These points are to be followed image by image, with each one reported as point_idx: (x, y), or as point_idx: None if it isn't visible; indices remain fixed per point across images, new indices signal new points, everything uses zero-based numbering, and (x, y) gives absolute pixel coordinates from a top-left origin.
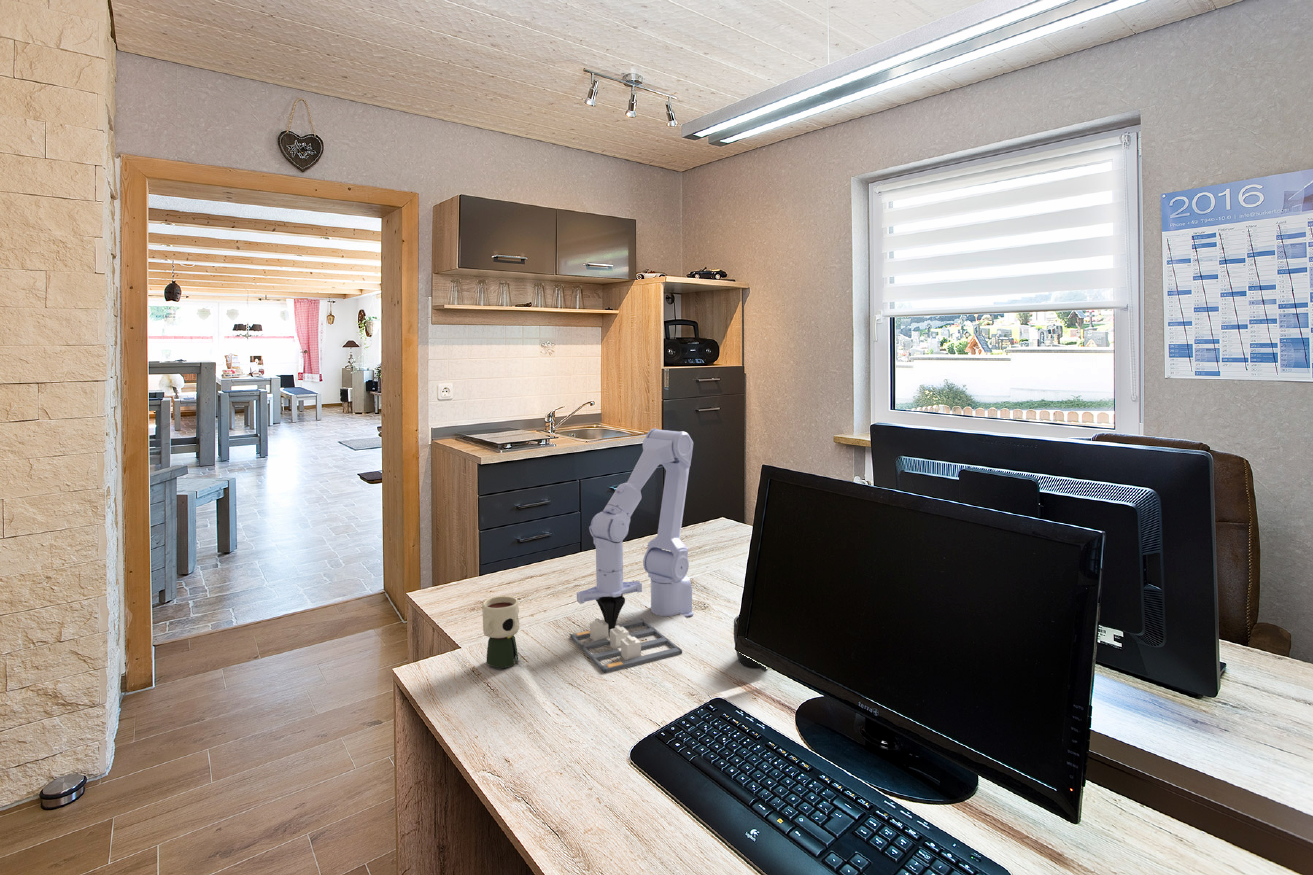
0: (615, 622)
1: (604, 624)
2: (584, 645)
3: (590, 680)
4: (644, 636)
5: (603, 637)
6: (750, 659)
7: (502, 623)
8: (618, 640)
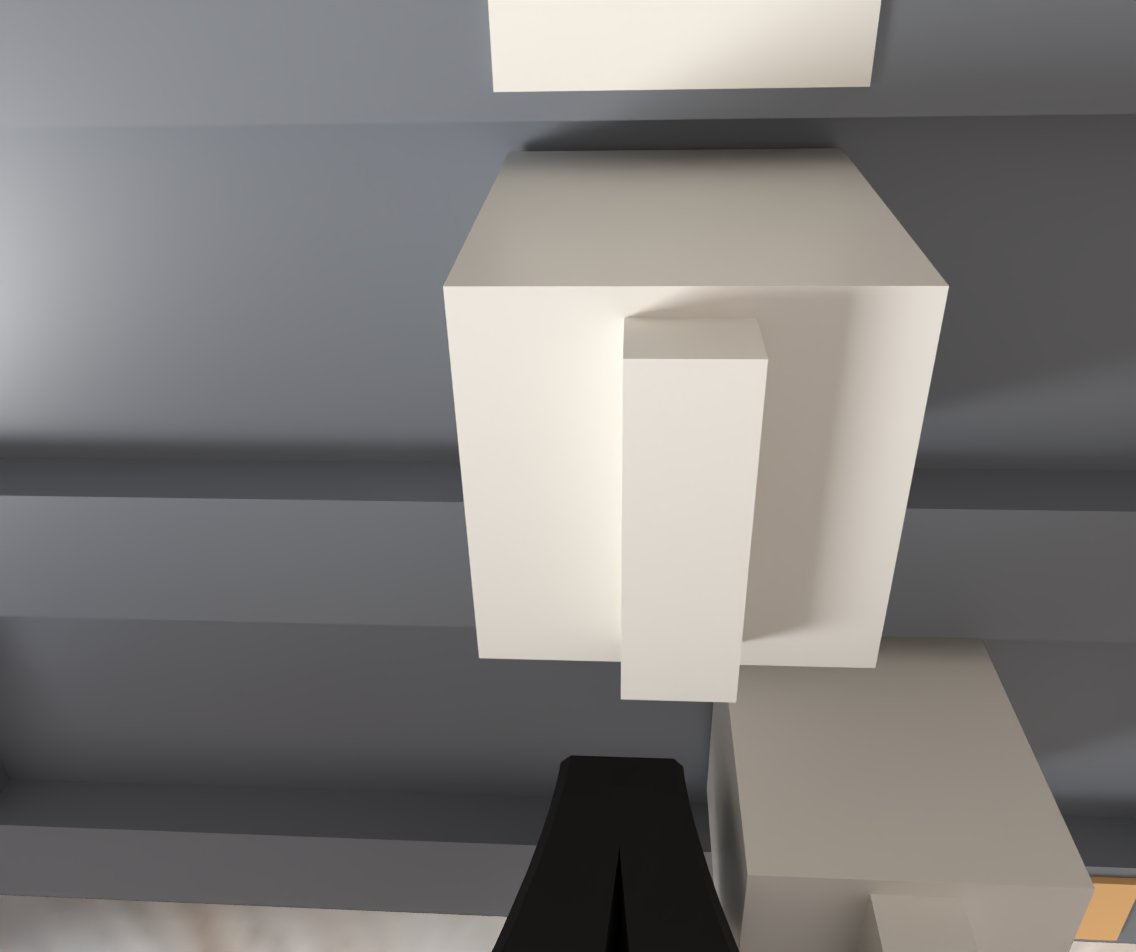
0: (556, 873)
1: (827, 899)
2: None
3: None
4: (64, 458)
5: (828, 667)
6: None
7: None
8: (807, 219)
